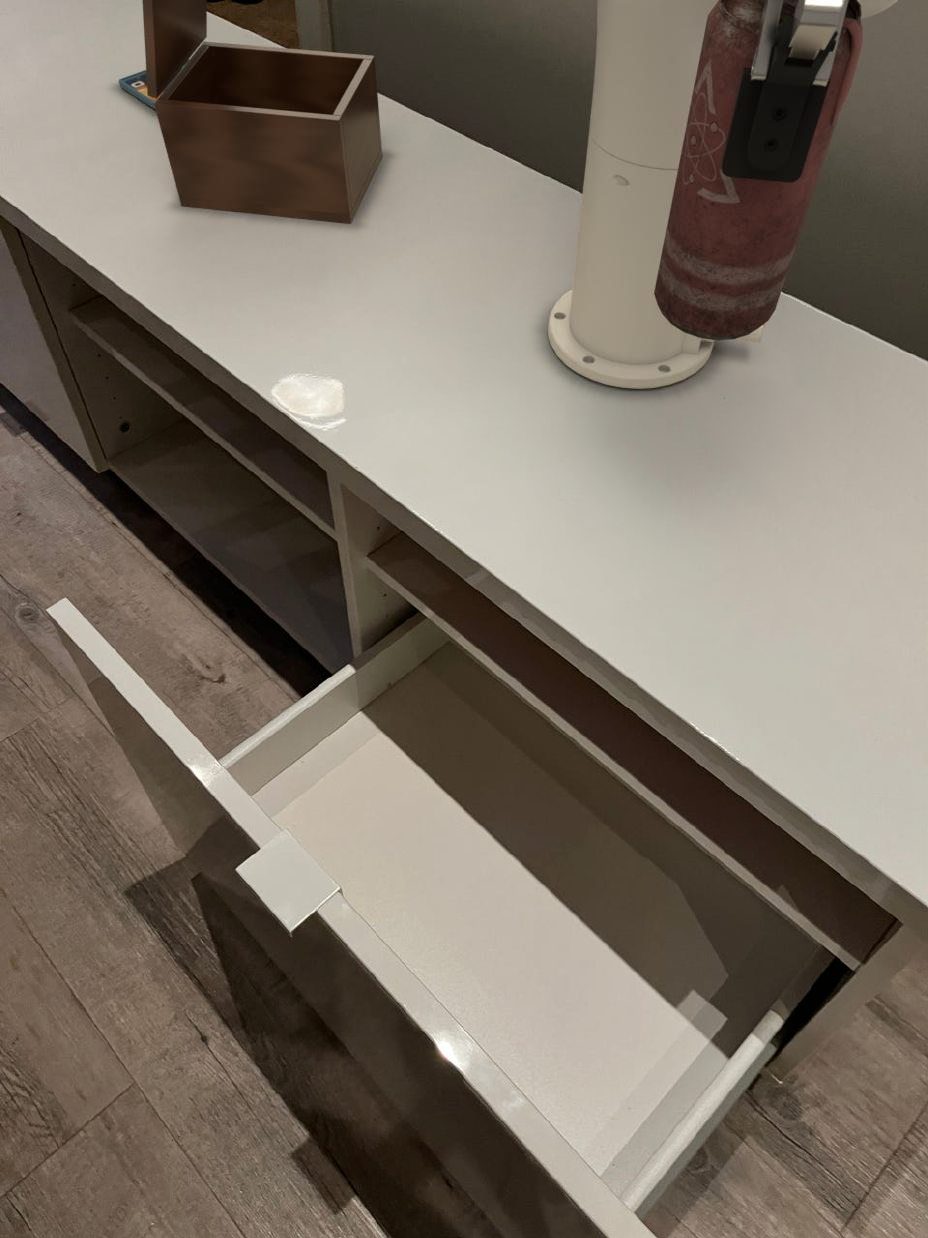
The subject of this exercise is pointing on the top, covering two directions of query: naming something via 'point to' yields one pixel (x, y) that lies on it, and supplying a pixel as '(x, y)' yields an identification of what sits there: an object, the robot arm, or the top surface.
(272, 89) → the chest
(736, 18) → the can
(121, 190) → the top surface
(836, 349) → the top surface
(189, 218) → the top surface
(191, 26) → the lid
